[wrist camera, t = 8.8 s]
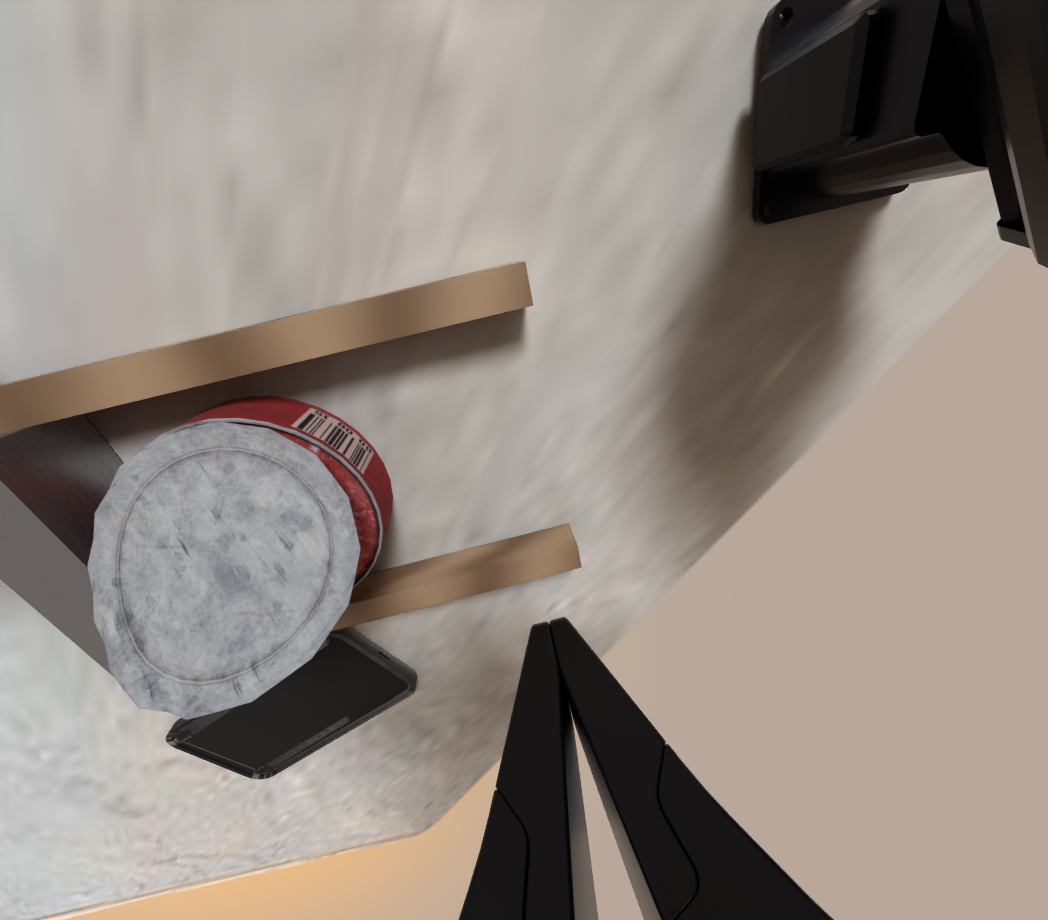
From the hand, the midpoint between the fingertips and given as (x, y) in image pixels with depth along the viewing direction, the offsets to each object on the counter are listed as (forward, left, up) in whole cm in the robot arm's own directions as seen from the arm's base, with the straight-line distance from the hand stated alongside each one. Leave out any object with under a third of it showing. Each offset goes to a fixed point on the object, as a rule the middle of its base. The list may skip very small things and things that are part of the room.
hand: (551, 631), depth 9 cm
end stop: (+18, 0, -11) cm, 22 cm away
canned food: (+11, 0, -12) cm, 16 cm away
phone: (+18, +15, -12) cm, 26 cm away
